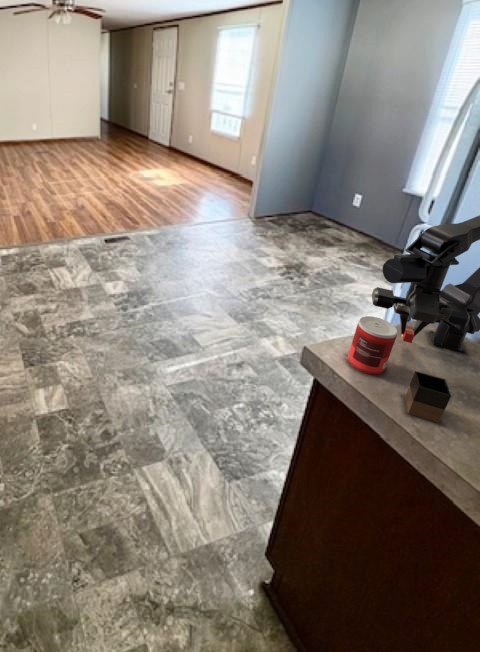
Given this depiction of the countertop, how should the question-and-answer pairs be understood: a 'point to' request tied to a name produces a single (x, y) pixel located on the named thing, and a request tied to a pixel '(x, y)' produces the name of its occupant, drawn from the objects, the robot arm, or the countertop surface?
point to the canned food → (372, 344)
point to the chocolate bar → (408, 334)
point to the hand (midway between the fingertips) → (407, 334)
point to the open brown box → (430, 390)
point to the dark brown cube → (422, 409)
